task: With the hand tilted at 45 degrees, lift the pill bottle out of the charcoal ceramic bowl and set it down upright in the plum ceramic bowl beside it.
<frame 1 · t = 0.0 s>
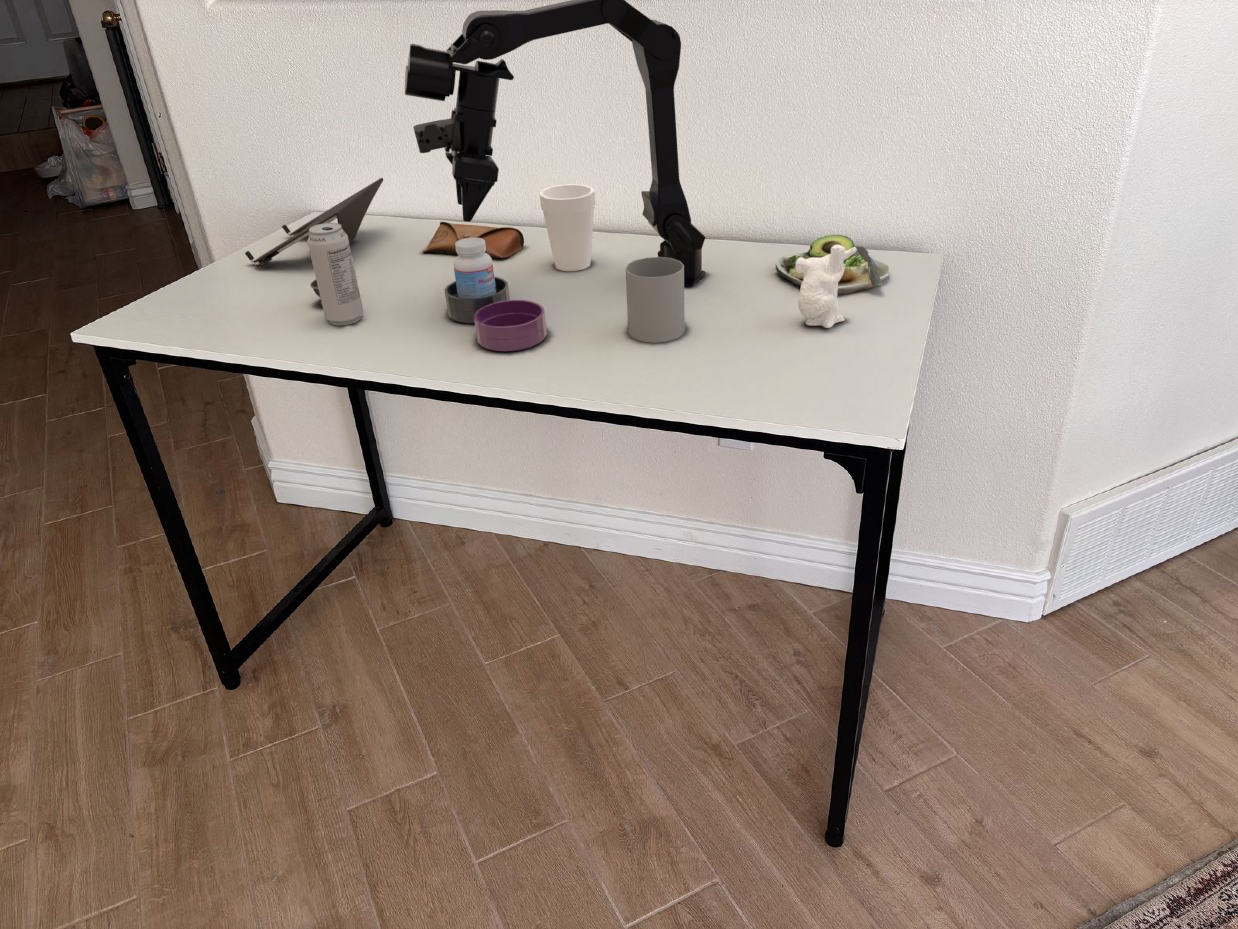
hand: (463, 212, 142), 15 cm above the table, tool pointing down, fingers open, 9 cm apart
foam cup: (572, 265, 165), on the table
charcoal bowl: (479, 312, 148), on the table
pill bottle: (479, 311, 148), resting on charcoal bowl
sunglasses case: (473, 251, 175), on the table
plum bowl: (512, 338, 139), on the table
salad plate: (831, 275, 155), on the table
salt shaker: (333, 303, 155), on the table
laptop stand: (319, 251, 179), on the table
energy drink can: (345, 320, 149), on the table
white figurine: (821, 324, 138), on the table
cup: (656, 332, 139), on the table
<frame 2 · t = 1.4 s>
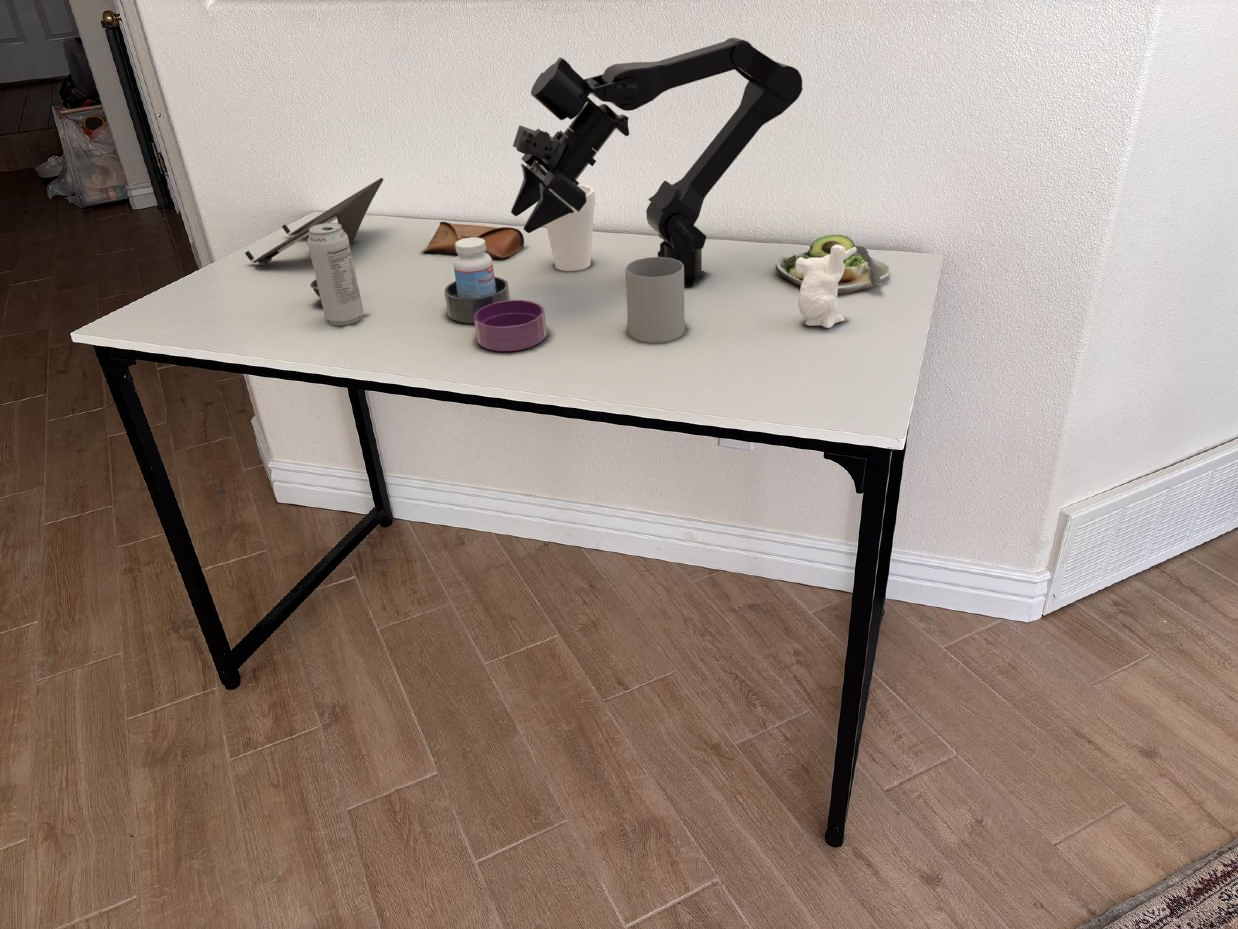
hand: (519, 222, 143), 13 cm above the table, tool tilted 45°, fingers open, 9 cm apart
nothing on the table moved.
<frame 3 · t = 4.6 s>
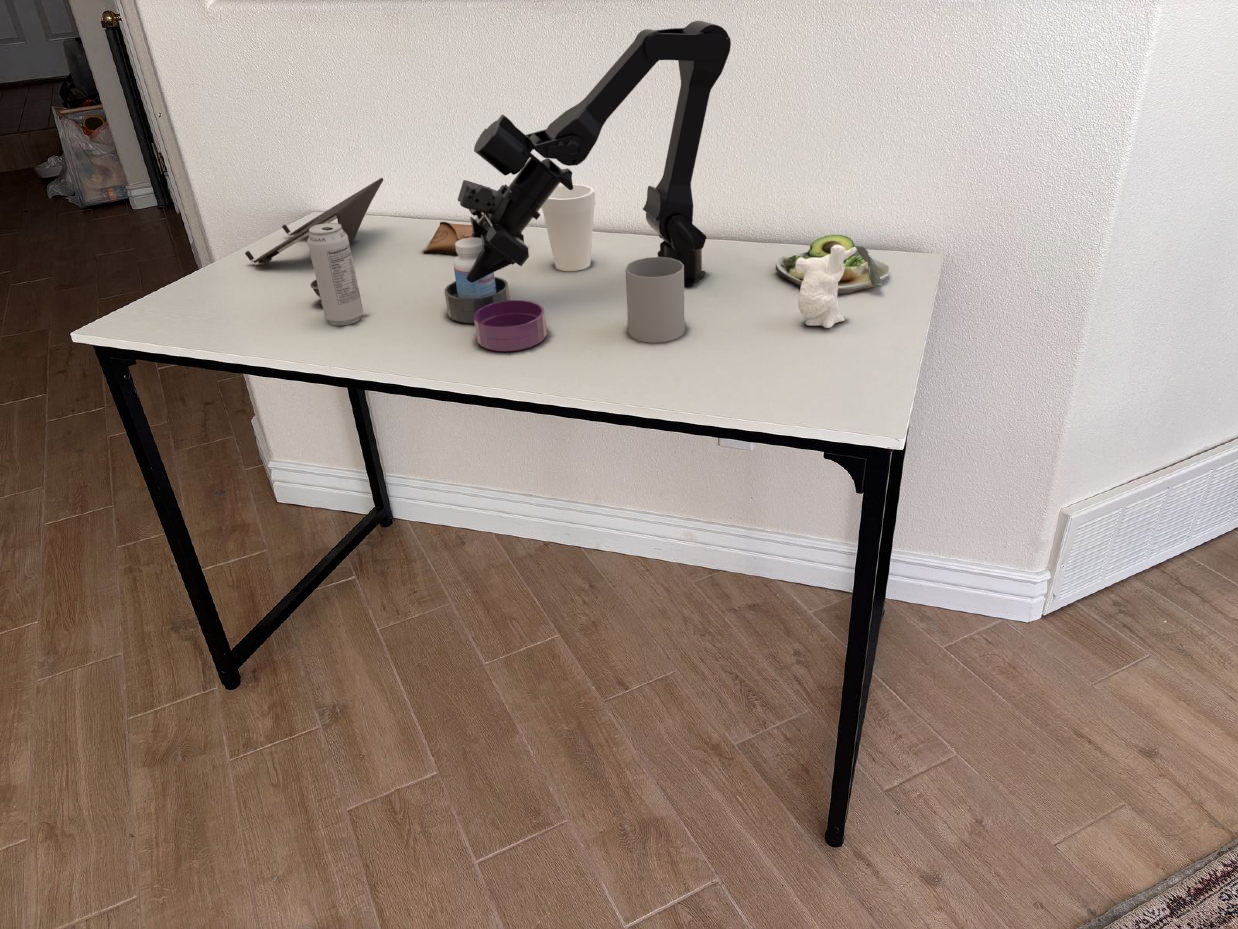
hand: (465, 274, 145), 7 cm above the table, tool tilted 45°, fingers closed on pill bottle, 6 cm apart
pill bottle: (479, 311, 148), resting on charcoal bowl, touching gripper
everything else where it was.
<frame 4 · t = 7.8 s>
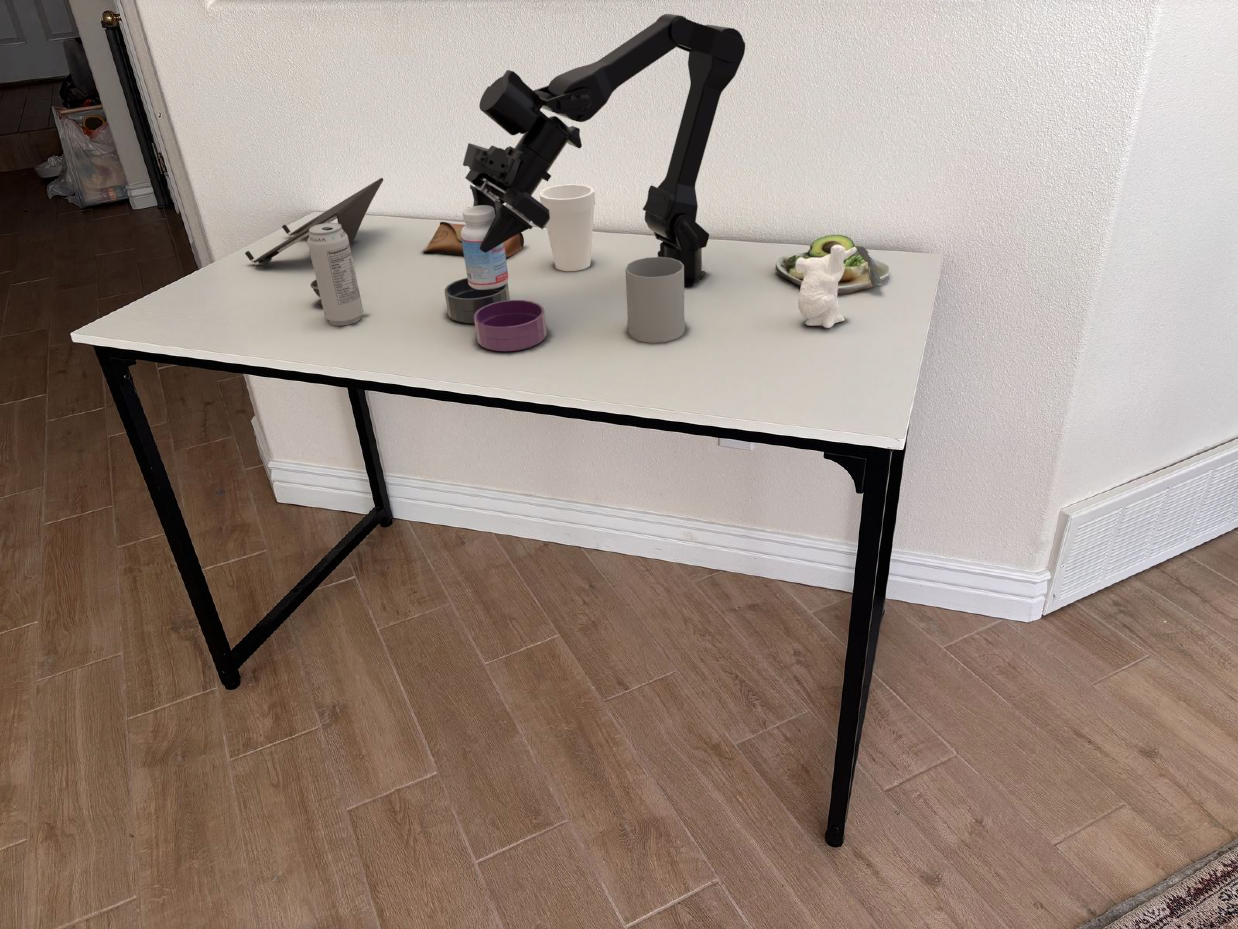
hand: (474, 244, 136), 13 cm above the table, tool tilted 45°, fingers closed on pill bottle, 6 cm apart
pill bottle: (489, 284, 140), point 7 cm above the table, touching gripper
everything else where it was.
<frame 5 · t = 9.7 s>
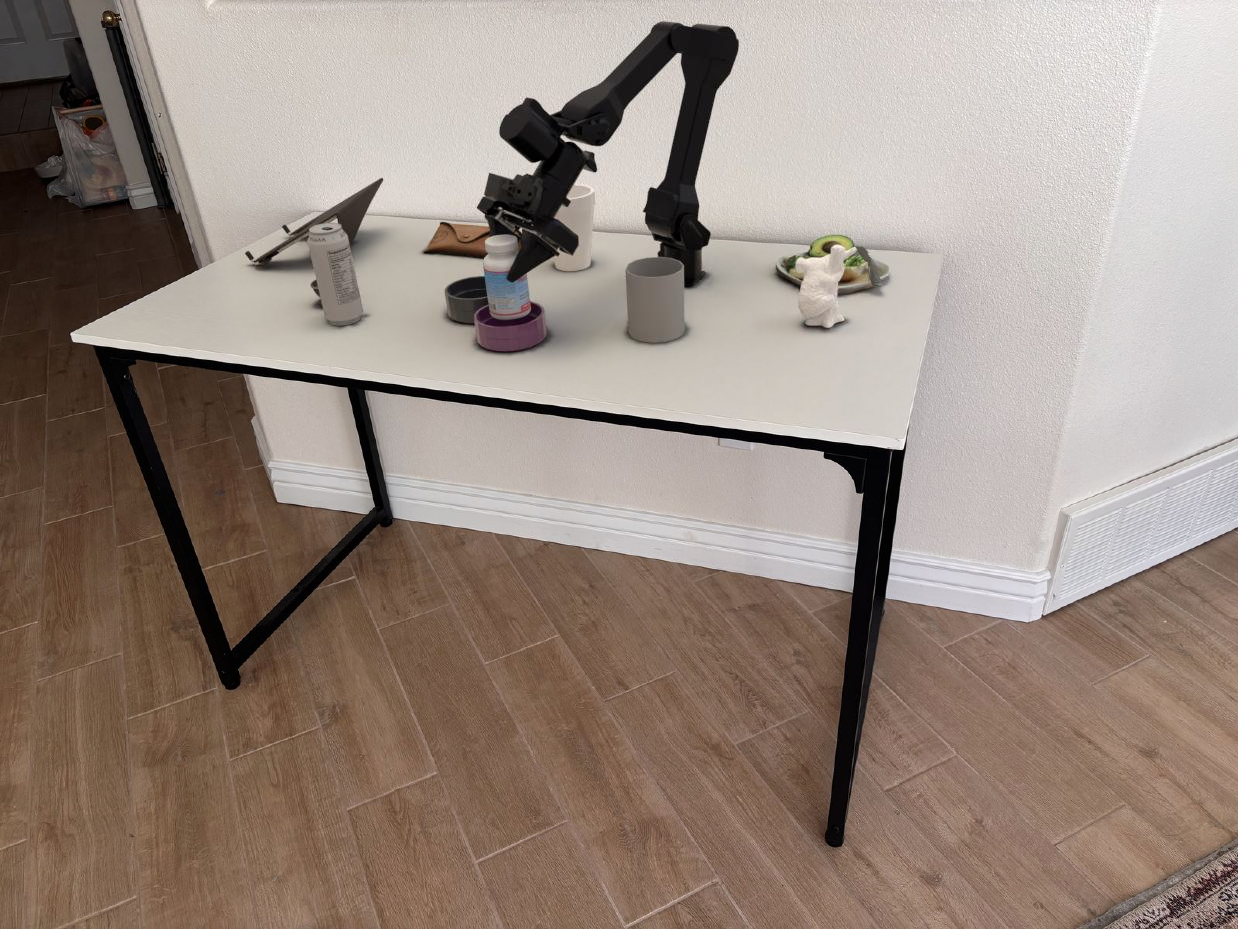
hand: (497, 275, 133), 10 cm above the table, tool tilted 45°, fingers closed on pill bottle, 6 cm apart
pill bottle: (511, 314, 137), point 4 cm above the table, touching gripper
everything else where it was.
when the fingers open (7 cm above the table, at t = 11.3 s): pill bottle stays where it is, resting on plum bowl.
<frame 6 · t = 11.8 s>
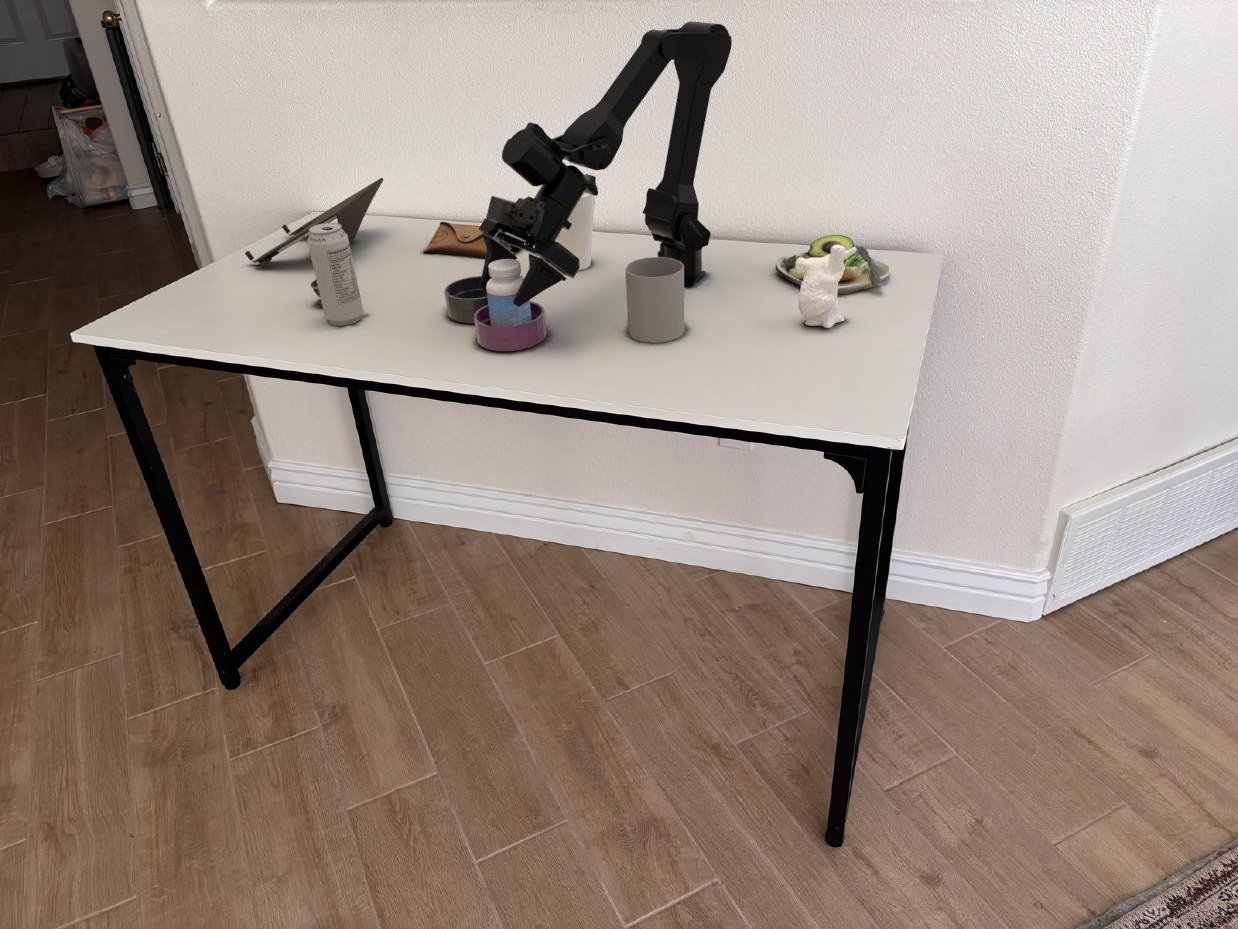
hand: (498, 296, 135), 7 cm above the table, tool tilted 45°, fingers open, 9 cm apart
pill bottle: (513, 337, 139), resting on plum bowl
everything else where it was.
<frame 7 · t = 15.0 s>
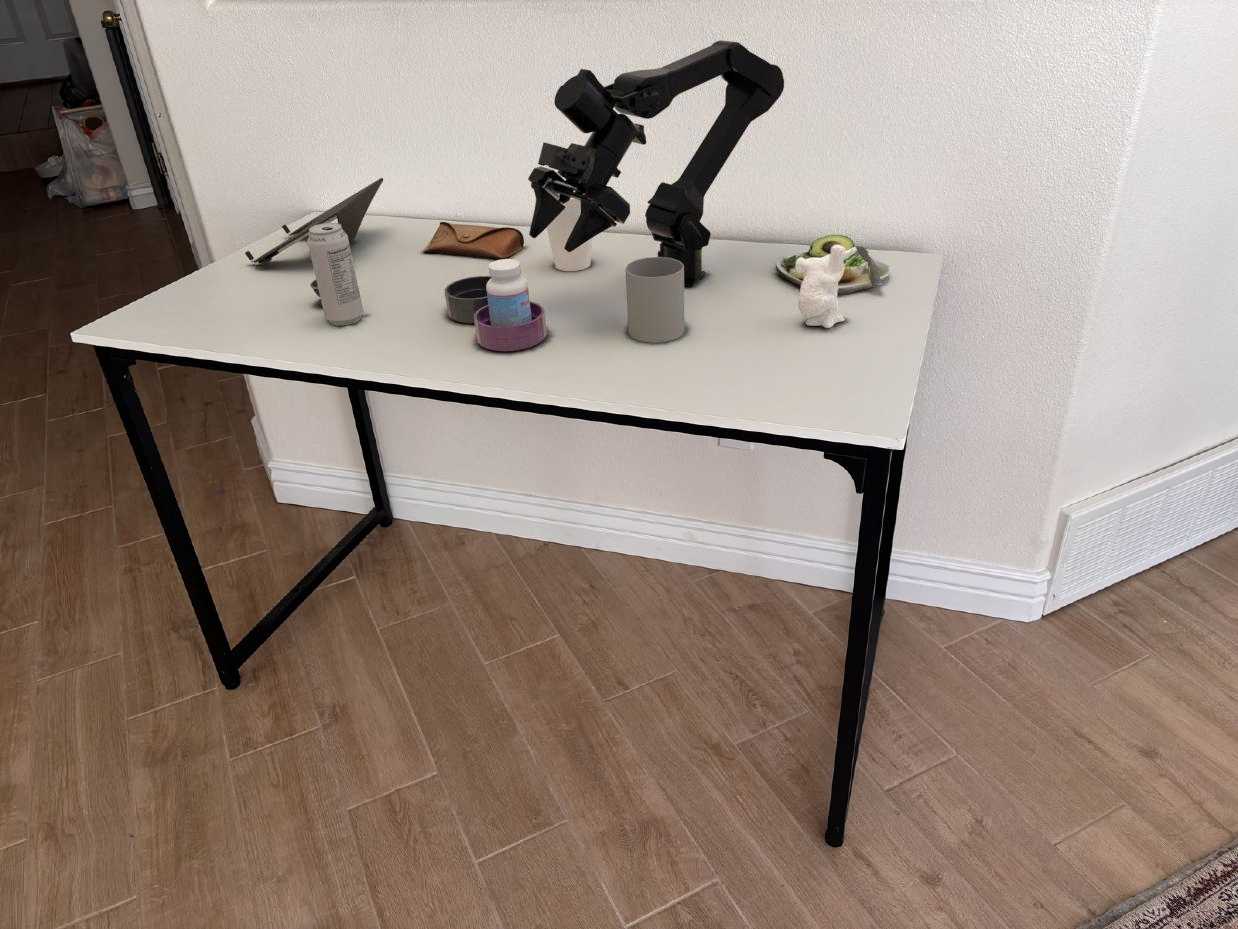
hand: (548, 243, 137), 13 cm above the table, tool tilted 45°, fingers open, 9 cm apart
nothing on the table moved.
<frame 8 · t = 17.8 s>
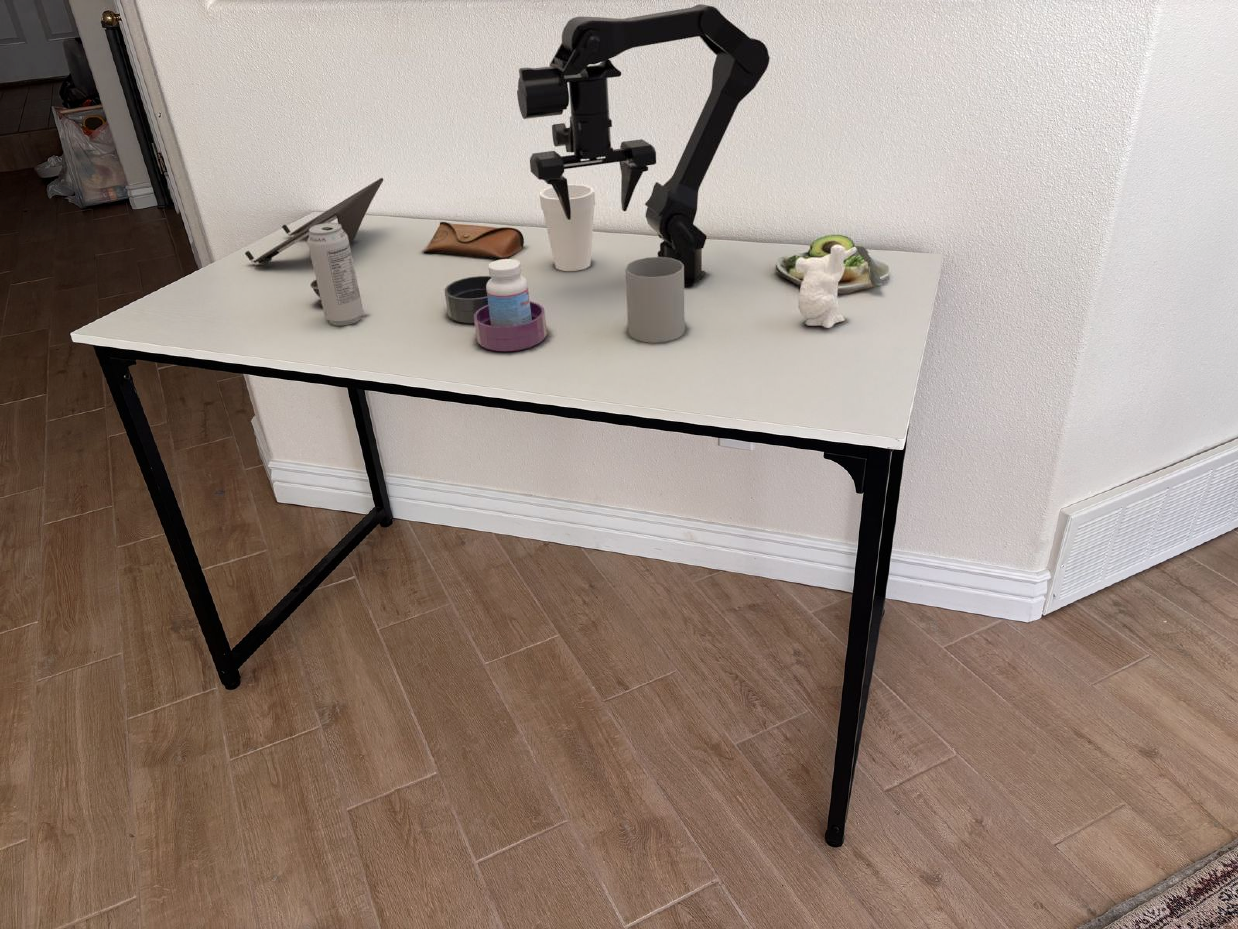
hand: (596, 214, 146), 13 cm above the table, tool pointing down, fingers open, 9 cm apart
nothing on the table moved.
at the end: pill bottle 0.2 cm off-centre in the plum bowl, point 0.1 cm above the plum bowl's base; pill bottle tilted 0°; the gripper is holding nothing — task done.
